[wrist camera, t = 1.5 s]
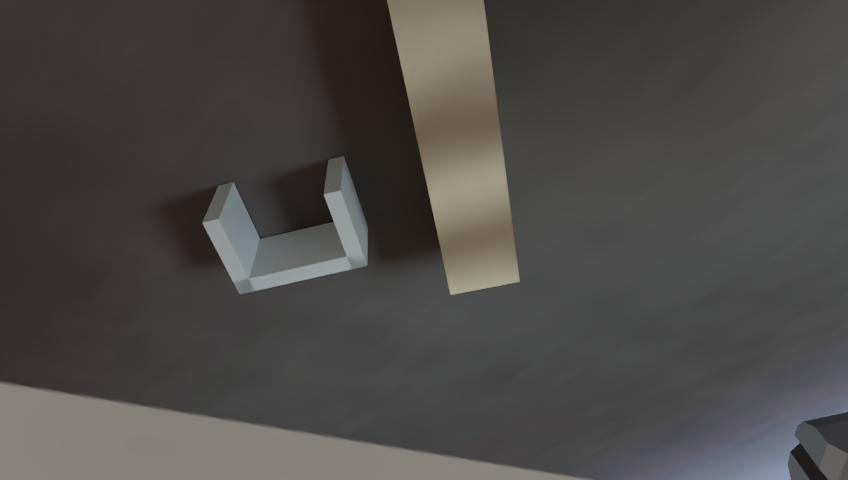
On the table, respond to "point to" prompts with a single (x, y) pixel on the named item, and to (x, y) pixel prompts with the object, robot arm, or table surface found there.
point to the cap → (289, 237)
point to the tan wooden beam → (458, 136)
